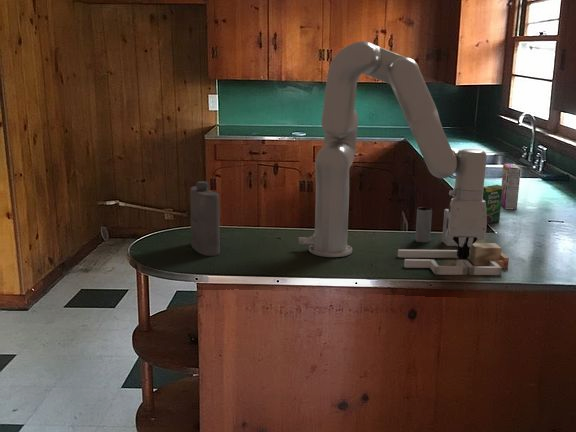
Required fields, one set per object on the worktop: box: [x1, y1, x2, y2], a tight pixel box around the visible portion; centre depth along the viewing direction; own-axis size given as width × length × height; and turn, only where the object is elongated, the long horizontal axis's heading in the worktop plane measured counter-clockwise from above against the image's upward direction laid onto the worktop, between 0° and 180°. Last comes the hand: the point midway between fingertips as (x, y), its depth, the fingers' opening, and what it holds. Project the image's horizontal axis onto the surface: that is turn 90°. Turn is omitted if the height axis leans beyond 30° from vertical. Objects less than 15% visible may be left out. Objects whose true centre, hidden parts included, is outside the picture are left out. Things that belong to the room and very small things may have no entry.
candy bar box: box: [500, 163, 522, 210], centre depth 243 cm, size 11×5×16 cm, turn 171°
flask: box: [189, 180, 221, 257], centre depth 178 cm, size 15×6×20 cm, turn 26°
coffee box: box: [483, 184, 502, 224], centre depth 217 cm, size 8×3×13 cm, turn 116°
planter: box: [414, 206, 433, 243], centre depth 192 cm, size 4×4×10 cm
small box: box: [441, 208, 466, 247], centre depth 190 cm, size 8×6×10 cm
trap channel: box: [397, 248, 510, 276], centre depth 169 cm, size 28×16×3 cm, turn 91°
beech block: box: [468, 242, 503, 266], centre depth 172 cm, size 7×5×5 cm
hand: (462, 259), depth 172 cm, fingers closed
